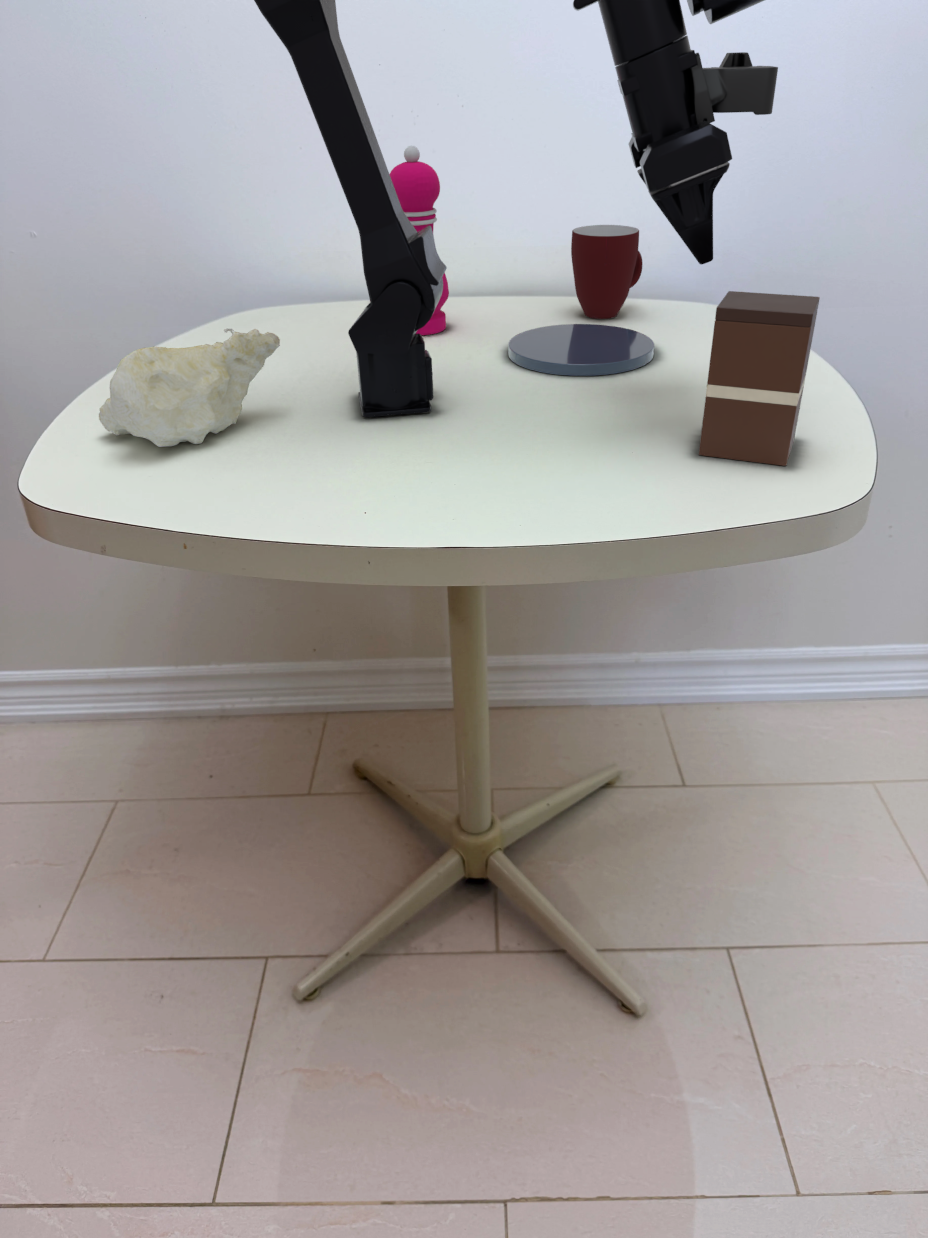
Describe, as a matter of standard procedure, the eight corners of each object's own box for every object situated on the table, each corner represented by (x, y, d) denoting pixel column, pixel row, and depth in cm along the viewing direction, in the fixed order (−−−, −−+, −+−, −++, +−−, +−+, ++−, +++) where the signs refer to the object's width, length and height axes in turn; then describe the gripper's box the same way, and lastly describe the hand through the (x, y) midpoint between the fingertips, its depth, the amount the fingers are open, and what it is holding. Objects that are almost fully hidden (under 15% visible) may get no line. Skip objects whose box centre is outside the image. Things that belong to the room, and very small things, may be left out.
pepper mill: (461, 325, 111) (456, 143, 100) (428, 339, 106) (419, 149, 95) (413, 318, 115) (403, 141, 104) (379, 332, 109) (365, 147, 99)
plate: (526, 381, 92) (526, 369, 92) (495, 339, 106) (495, 329, 105) (675, 369, 94) (676, 357, 94) (626, 329, 108) (627, 319, 107)
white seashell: (93, 489, 77) (196, 388, 69) (54, 415, 77) (152, 307, 70) (218, 477, 90) (316, 391, 83) (184, 414, 91) (279, 323, 83)
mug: (606, 300, 120) (611, 219, 114) (657, 310, 115) (664, 225, 110) (555, 316, 113) (558, 231, 108) (607, 327, 109) (612, 238, 103)
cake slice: (698, 455, 75) (716, 306, 68) (710, 432, 79) (728, 290, 72) (786, 466, 72) (813, 313, 66) (793, 442, 77) (820, 296, 70)
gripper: (781, 0, 60) (822, 235, 67) (736, 8, 75) (773, 198, 83) (618, 71, 63) (675, 289, 70) (607, 65, 78) (654, 244, 86)
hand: (699, 251), depth 77 cm, fingers open, 9 cm apart
